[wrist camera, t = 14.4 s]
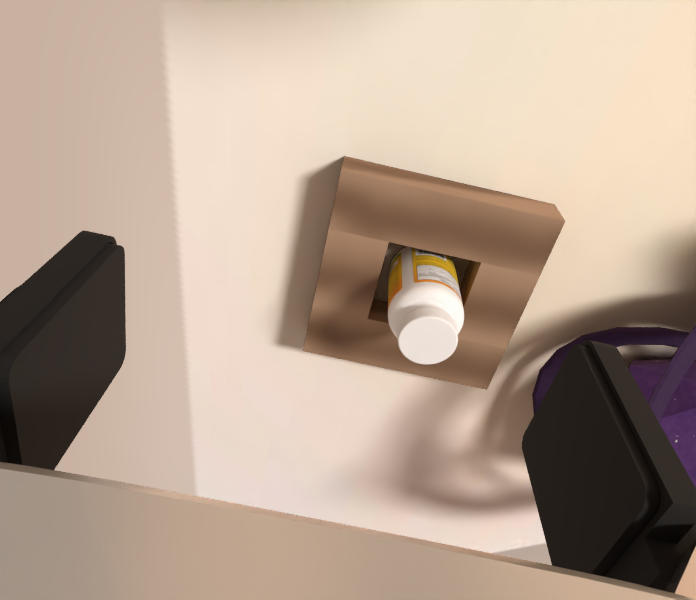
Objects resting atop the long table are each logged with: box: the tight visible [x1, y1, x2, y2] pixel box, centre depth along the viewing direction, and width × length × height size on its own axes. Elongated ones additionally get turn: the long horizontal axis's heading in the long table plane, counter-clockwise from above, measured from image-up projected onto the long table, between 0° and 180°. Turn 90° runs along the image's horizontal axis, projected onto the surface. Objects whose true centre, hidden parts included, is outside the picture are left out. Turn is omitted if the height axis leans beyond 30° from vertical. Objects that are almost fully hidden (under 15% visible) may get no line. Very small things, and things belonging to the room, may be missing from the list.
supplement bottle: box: [388, 246, 464, 364], centre depth 41 cm, size 5×5×10 cm
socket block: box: [303, 156, 565, 389], centre depth 44 cm, size 16×16×3 cm
